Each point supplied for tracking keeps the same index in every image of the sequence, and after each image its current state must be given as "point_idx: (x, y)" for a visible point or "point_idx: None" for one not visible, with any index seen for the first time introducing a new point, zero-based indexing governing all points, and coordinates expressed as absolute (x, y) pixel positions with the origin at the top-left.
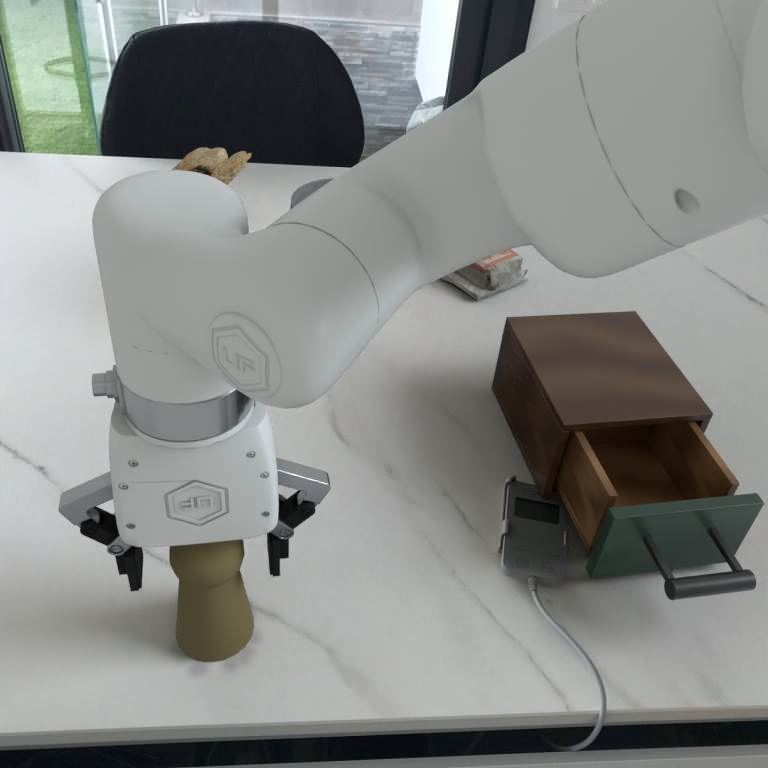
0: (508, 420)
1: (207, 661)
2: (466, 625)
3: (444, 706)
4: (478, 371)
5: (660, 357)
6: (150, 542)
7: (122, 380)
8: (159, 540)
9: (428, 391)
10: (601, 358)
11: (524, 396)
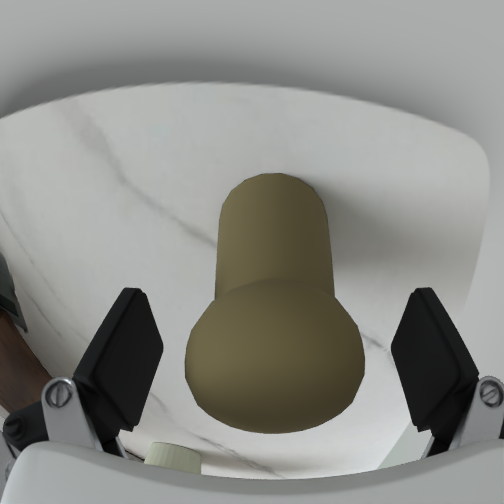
0: (42, 371)
1: (285, 175)
2: (14, 205)
3: (22, 116)
4: None
5: None
6: (478, 476)
7: None
8: (454, 496)
9: None
10: None
11: (19, 389)
